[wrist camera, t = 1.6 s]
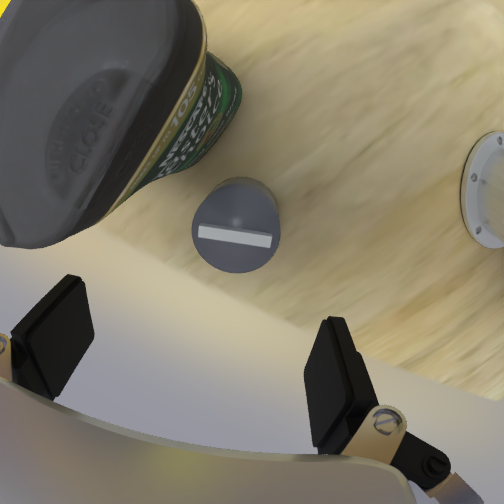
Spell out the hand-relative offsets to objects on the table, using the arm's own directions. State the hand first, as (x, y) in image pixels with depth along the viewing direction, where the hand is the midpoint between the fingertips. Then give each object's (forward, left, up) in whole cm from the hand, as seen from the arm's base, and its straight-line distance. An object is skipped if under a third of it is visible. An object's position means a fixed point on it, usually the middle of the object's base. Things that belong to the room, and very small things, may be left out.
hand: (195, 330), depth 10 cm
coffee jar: (+5, -8, -15) cm, 18 cm away
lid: (-1, 0, -15) cm, 15 cm away
